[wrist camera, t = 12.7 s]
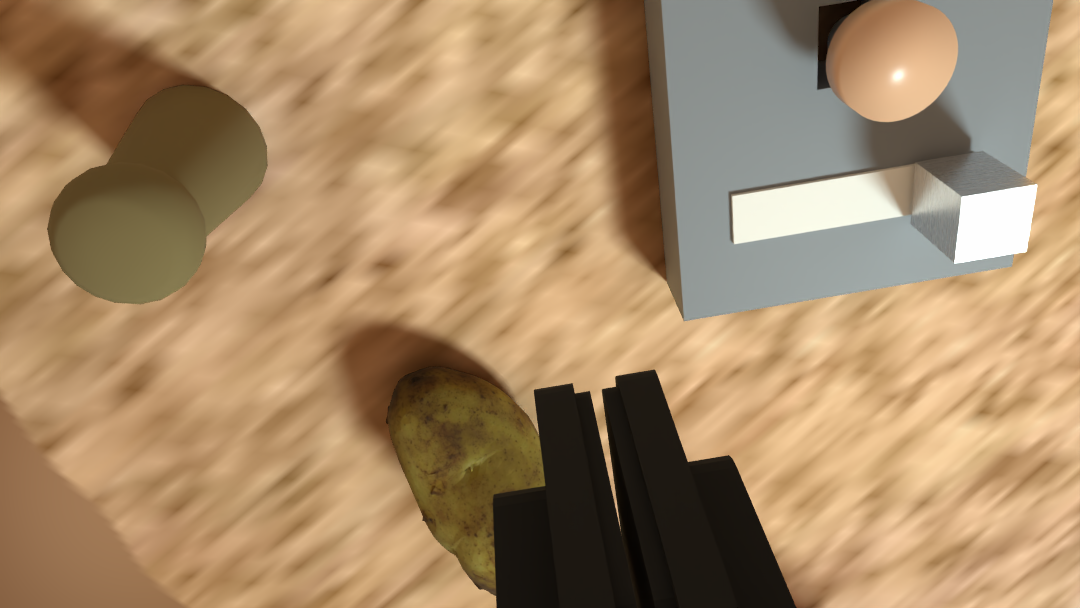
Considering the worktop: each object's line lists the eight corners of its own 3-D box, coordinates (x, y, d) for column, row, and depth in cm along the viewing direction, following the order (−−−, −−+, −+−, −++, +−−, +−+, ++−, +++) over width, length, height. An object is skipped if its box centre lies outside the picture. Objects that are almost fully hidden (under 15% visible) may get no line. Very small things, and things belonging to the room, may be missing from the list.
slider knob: (915, 162, 37) (962, 196, 33) (983, 150, 36) (1037, 184, 33) (910, 223, 38) (954, 263, 35) (975, 212, 38) (1026, 251, 35)
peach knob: (799, -8, 34) (843, 13, 30) (906, -26, 34) (963, -7, 30) (798, 98, 36) (839, 130, 32) (899, 81, 36) (951, 111, 32)
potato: (528, 324, 44) (540, 415, 37) (579, 498, 51) (597, 603, 44) (378, 361, 45) (363, 458, 38) (448, 529, 51) (445, 638, 44)
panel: (627, -204, 33) (647, -208, 29) (1030, -272, 33) (1100, -285, 29) (666, 282, 44) (684, 323, 40) (968, 231, 44) (1014, 268, 40)
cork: (207, 234, 40) (126, 358, 31) (102, 141, 38) (-21, 246, 28) (295, 158, 39) (239, 264, 29) (192, 56, 36) (95, 136, 27)
